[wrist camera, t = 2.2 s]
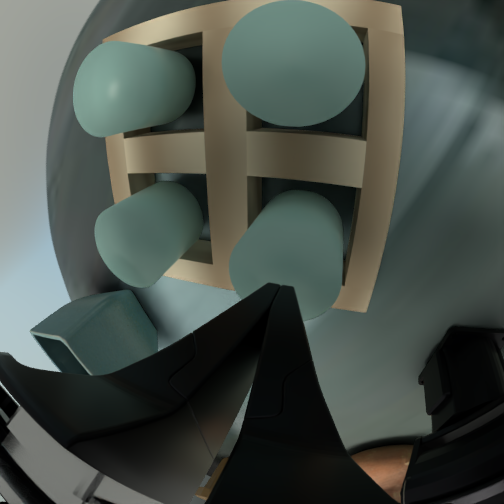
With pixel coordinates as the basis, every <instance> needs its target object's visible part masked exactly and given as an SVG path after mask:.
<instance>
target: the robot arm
mask: <svg viewBox="0 0 504 504" xmlns="http://www.w3.org/2000/svg"><path fill="white" fill-rule="evenodd" d="M503 345H504V330H495V329H479V328H466V327H452V328H451V329H449V330H448V332H447V334H446V335H445V337H444V339H443V340H442V342H441V344H440V346H439V347H438V349H437V351H436V352H435V353H434V355H433V356H432V358H431V360H430V361H429V363H428V364H427V366H426V367H425V369H424V370H423V372H422V374H421V375H420V377H419V378H418V382H419V384H420V385H424V391H425V402H426V413H427V414H428V415H431V418H432V433H431V434H429V435H427V436H424V437H419V438H417V439H415V441H414V446H413V450H412V454H411V457H410V461H409V465H408V468H407V472H406V475H405V478H404V481H403V484H402V488H401V491H400V496H401V503H399V502H397V501H396V500H395V499H393V498H392V497H391V496H390V495H389V494H388V493H386V492H385V491H384V490H383V489H382V488H381V487H380V486H379V485H378V484H377V483H376V482H375V481H374V480H373V479H372V478H371V477H370V476H369V475H368V474H367V473H366V472H365V471H364V470H363V469H362V468H361V467H360V466H359V465H358V464H357V463H356V462H355V461H354V460H353V459H352V458H351V456H350V455H349V453H348V452H347V450H346V449H345V447H344V445H343V443H342V440H341V438H340V436H339V433H338V431H337V429H336V426H335V424H334V421H333V419H332V416H331V414H330V411H329V409H328V407H327V404H326V402H325V399H324V396H323V394H322V391H321V388H320V385H319V382H318V378H317V375H316V371H315V367H314V363H313V361H312V360H313V359H312V355H311V351H310V347H309V343H308V339H307V335H306V331H305V327H304V323H303V319H302V315H301V311H300V307H299V303H298V299H297V296H296V292H295V288H294V287H293V286H288V285H280V284H276V283H271V282H268V283H266V284H265V285H263V286H262V287H260V288H259V289H257V290H256V291H254V292H253V293H251V294H250V295H248V296H247V297H245V298H244V299H242V300H241V301H239V302H238V303H236V304H235V305H233V306H232V307H230V308H229V309H227V310H226V311H224V312H223V313H221V314H219V315H218V316H216V317H215V318H213V319H212V320H210V321H209V322H207V323H206V324H204V325H202V326H201V327H199V328H198V329H196V330H195V331H193V334H192V333H190V334H188V335H186V336H185V337H183V338H182V339H180V340H178V341H177V342H175V343H173V344H171V345H170V346H168V347H166V348H164V349H162V350H160V351H158V352H156V353H154V354H152V355H150V356H148V357H146V358H144V359H142V360H140V361H137V362H135V363H133V364H131V365H129V366H126V367H124V368H122V369H120V370H117V371H115V372H112V373H109V374H104V375H82V374H72V373H63V372H54V371H47V370H40V369H35V368H30V367H27V366H24V365H22V364H20V363H19V362H17V361H16V360H15V359H14V358H13V357H12V356H11V355H10V354H9V353H5V352H0V381H1V383H2V384H3V385H4V387H5V388H6V389H7V390H8V391H9V393H10V394H11V395H12V396H13V398H14V399H15V400H16V401H17V402H18V403H19V404H20V406H19V405H18V404H17V403H16V402H15V401H14V400H13V399H12V397H11V396H10V395H9V394H8V393H7V392H6V391H5V390H4V389H3V387H2V386H1V385H0V494H1V496H2V497H3V498H4V499H5V501H6V502H0V504H162V503H163V504H189V503H190V502H191V500H192V498H193V496H194V495H195V493H196V491H197V490H198V488H199V486H200V484H201V482H202V481H203V479H204V477H205V475H206V474H207V472H208V470H209V468H210V466H211V465H212V463H213V461H214V460H213V459H215V457H216V455H217V453H218V451H219V449H220V448H221V446H222V444H223V442H224V440H225V438H226V436H227V434H228V432H229V430H230V428H231V426H232V424H233V422H234V420H235V418H236V416H237V414H238V412H239V410H240V408H241V406H242V404H243V402H244V400H245V398H246V396H247V394H248V392H249V389H250V387H251V385H252V389H251V393H250V397H249V401H248V405H247V409H246V413H245V417H244V421H243V424H242V428H241V431H240V434H239V437H238V440H237V442H236V444H235V446H234V448H233V450H232V452H231V454H230V456H229V458H228V460H227V462H226V464H225V466H224V468H223V470H222V472H221V474H220V476H219V478H218V480H217V482H216V484H215V486H214V487H213V489H212V491H211V493H210V495H209V497H208V499H207V500H206V502H205V504H504V359H503V356H502V354H501V351H500V350H501V348H502V347H503ZM252 383H253V384H252Z"/></svg>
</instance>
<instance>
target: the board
mask: <svg viewBox="0 0 504 504" xmlns="http://www.w3.org/2000/svg"><path fill="white" fill-rule="evenodd" d="M276 1H282V0H230V1H223V2H218V3H213V4H208V5H203V6H198V7H194V8H190V9H186V10H182V11H178V12H175V13H171V14H168V15H165V16H161V17H158V18H155V19H152V20H149V21H146V22H144V23H141V24H138V25H136V26H133V27H130V28H128V29H125V30H123V31H121V32H118V33H116V34H114V35H111V36H109V37H107V38H105V39H103V43H105V42H109V41H121V42H129V43H135V44H141V45H147V46H152V47H157V48H162V49H167V50H171V51H175V50H179V49H184V48H189V47H194V46H199V45H203V113H204V128H201V129H184V130H171V131H160V132H151V130H150V127H147V128H142V129H137V130H132V131H128V132H123V133H119V134H115V135H111V136H107V137H105V138H106V148H107V156H108V164H109V171H110V178H111V184H112V190H113V196H114V202H115V204H117V203H119V202H120V201H122V200H124V199H126V198H128V197H130V196H132V195H133V194H135V193H137V192H139V191H141V190H143V189H145V188H147V187H149V186H151V185H153V184H155V174H154V173H199V174H206V179H207V195H208V209H209V223H210V235H211V241H206V240H199V239H198V240H197V241H196V242H195V243H194V244H193V245H192V246H191V247H190V248H189V249H188V250H187V251H186V252H185V253H184V254H183V255H182V256H181V257H180V258H179V259H178V260H177V261H176V262H175V263H174V264H173V265H172V266H171V267H170V268H169V269H168V270H167V271H166V272H165V273H164V274H163V275H162V276H167V277H171V278H176V279H180V280H185V281H190V282H194V283H199V284H204V285H208V286H213V287H218V288H223V289H228V290H233V291H235V289H234V287H233V285H232V282H231V279H230V275H229V260H230V256H231V253H232V251H233V249H234V247H235V245H236V244H237V243H238V241H239V240H240V239H241V237H242V236H243V235H244V234H245V232H246V231H247V230H248V228H249V227H250V226H251V224H252V223H253V222H254V220H255V219H256V218H257V217H258V215H259V214H260V213H261V211H262V177H271V178H282V179H293V180H303V181H312V182H320V183H329V184H336V185H344V186H351V187H357V189H356V197H355V204H354V211H353V218H352V225H351V231H350V237H349V243H348V248H347V254H346V259H345V261H343V271H342V286H341V290H340V293H339V296H338V298H337V300H336V301H335V303H334V304H333V305H332V306H331V307H330V308H337V309H343V310H350V311H357V312H364V313H366V311H367V308H368V305H369V302H370V298H371V295H372V292H373V288H374V285H375V281H376V278H377V274H378V271H379V267H380V263H381V259H382V255H383V251H384V247H385V243H386V238H387V234H388V229H389V224H390V219H391V214H392V209H393V204H394V198H395V192H396V186H397V179H398V172H399V165H400V157H401V148H402V137H403V125H404V108H405V48H404V32H403V21H402V12H401V6H399V5H394V4H389V3H384V2H379V1H373V0H301V1H308V2H312V3H315V4H318V5H321V6H323V7H326V8H328V9H330V10H331V11H333V12H335V13H336V14H338V15H339V16H340V17H342V18H343V19H344V20H345V21H346V22H347V23H348V24H349V25H350V26H351V27H352V29H353V30H354V31H355V33H356V35H357V36H358V38H359V40H360V42H363V51H364V55H365V64H366V65H365V75H364V94H363V120H362V136H355V135H348V134H340V133H331V132H321V131H310V130H297V129H279V128H262V119H260V118H258V117H256V116H254V115H253V114H251V113H250V112H248V111H247V110H246V109H244V108H243V107H242V106H241V105H240V104H239V103H238V102H237V101H236V100H235V98H234V97H233V95H232V94H231V93H230V91H229V89H228V87H227V85H226V82H225V80H224V76H223V72H222V52H223V47H224V44H225V42H226V39H227V37H228V35H229V33H230V31H231V30H232V29H233V27H234V26H235V25H236V24H237V22H238V21H239V20H240V19H241V18H243V17H244V16H245V15H246V14H248V13H249V12H251V11H252V10H254V9H256V8H258V7H260V6H262V5H265V4H268V3H271V2H276Z"/></svg>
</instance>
